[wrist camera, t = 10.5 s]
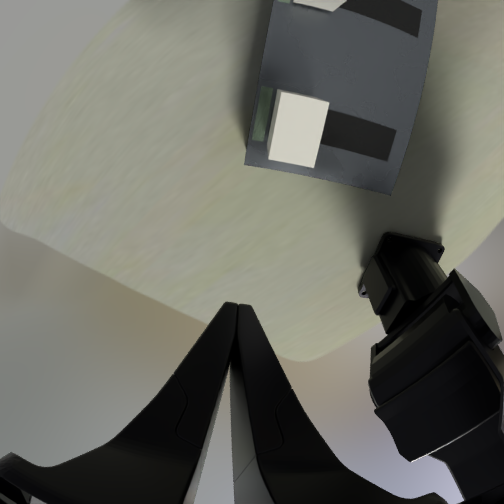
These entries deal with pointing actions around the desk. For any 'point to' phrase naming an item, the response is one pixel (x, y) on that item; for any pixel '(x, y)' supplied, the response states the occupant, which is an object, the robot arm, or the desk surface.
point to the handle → (296, 128)
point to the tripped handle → (322, 3)
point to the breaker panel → (347, 84)
